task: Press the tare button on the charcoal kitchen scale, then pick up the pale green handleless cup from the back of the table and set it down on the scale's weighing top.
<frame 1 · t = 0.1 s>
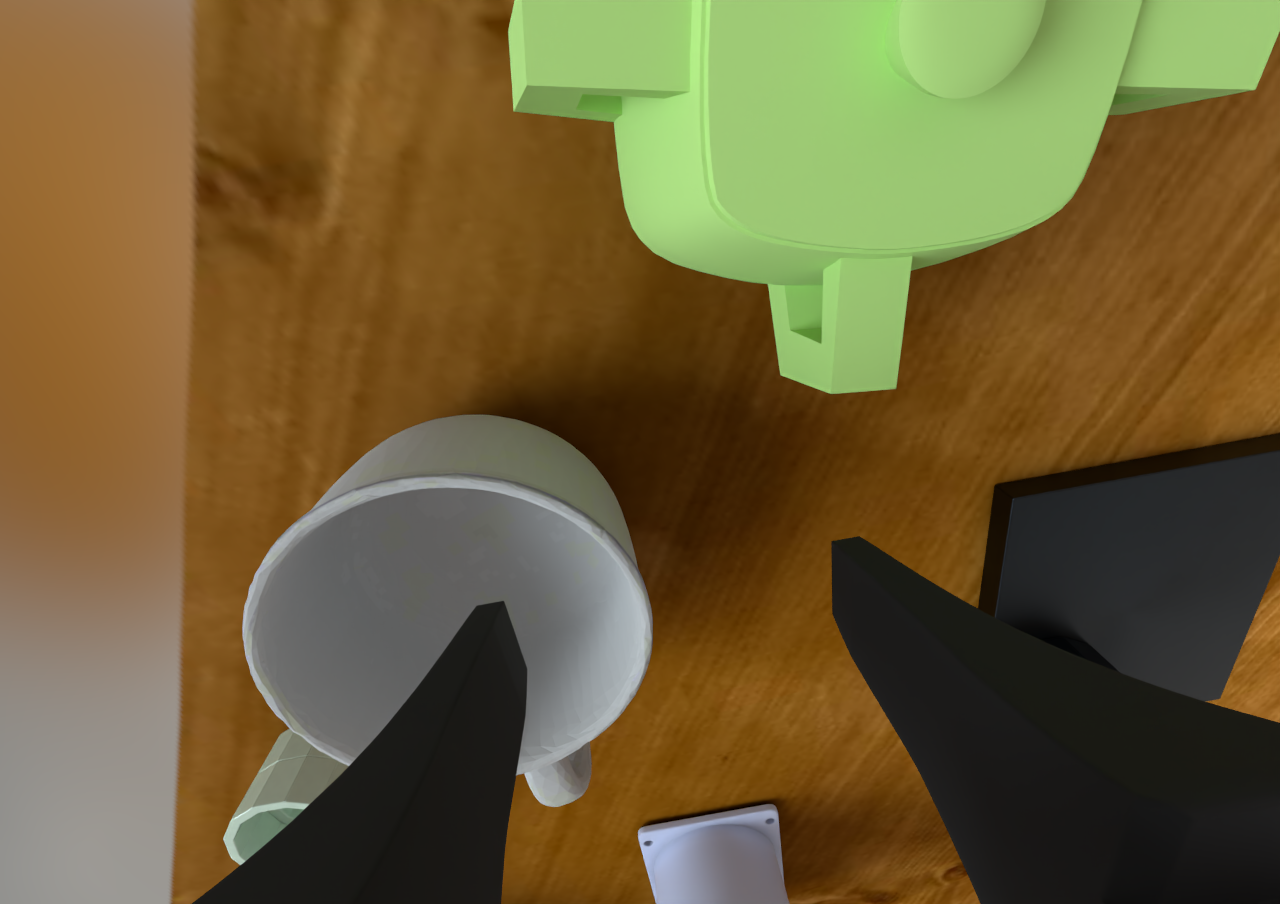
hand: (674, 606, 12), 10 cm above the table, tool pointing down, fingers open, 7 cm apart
pale green handleless cup: (342, 748, 27), on the table
teapot: (776, 95, 17), on the table
teacup: (510, 538, 23), on the table
scale: (1108, 594, 27), on the table
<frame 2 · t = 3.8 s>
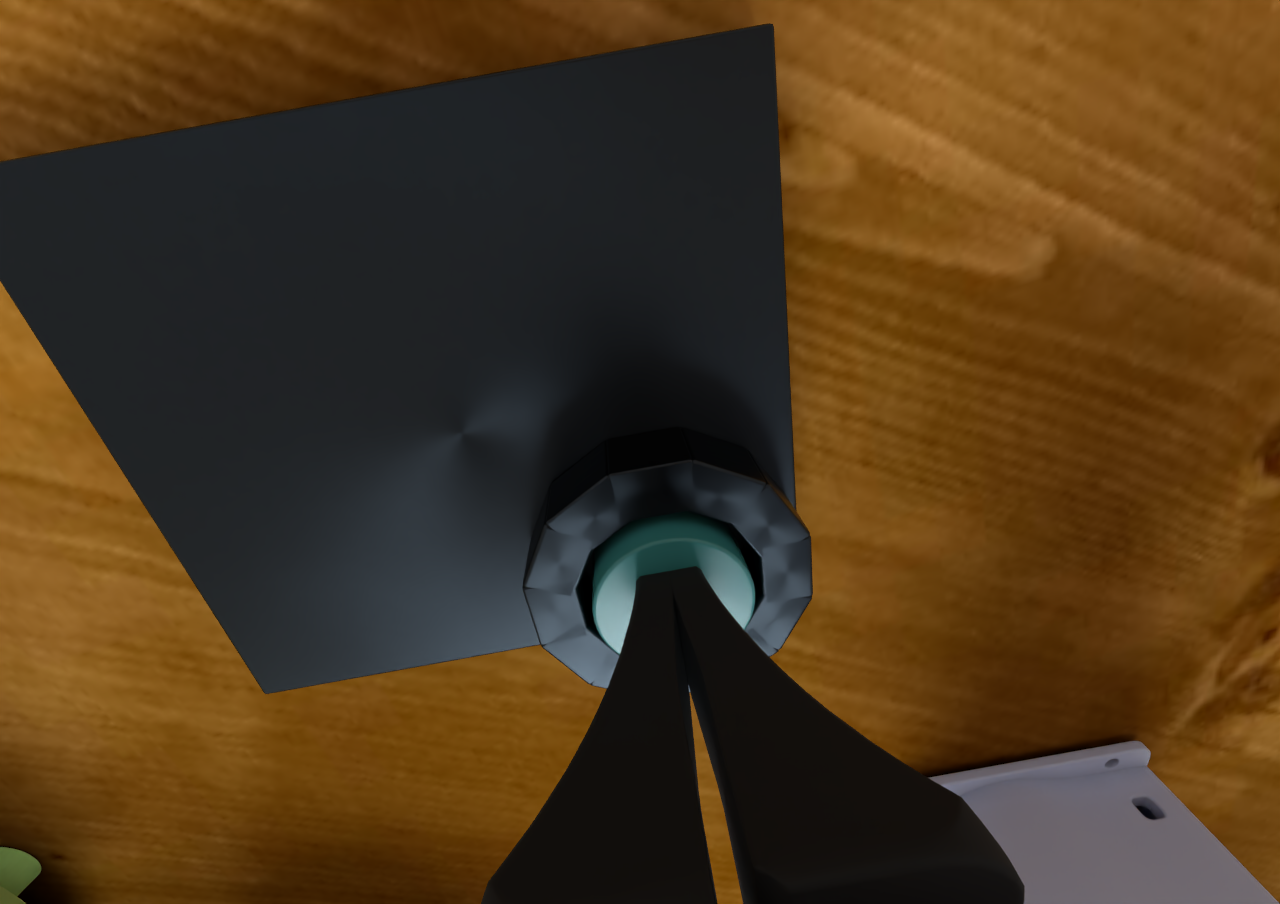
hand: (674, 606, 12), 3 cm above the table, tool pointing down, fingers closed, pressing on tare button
tare button: (670, 583, 13), point 3 cm above the table, slide at -0.7 cm, touching gripper
scale: (473, 414, 14), on the table
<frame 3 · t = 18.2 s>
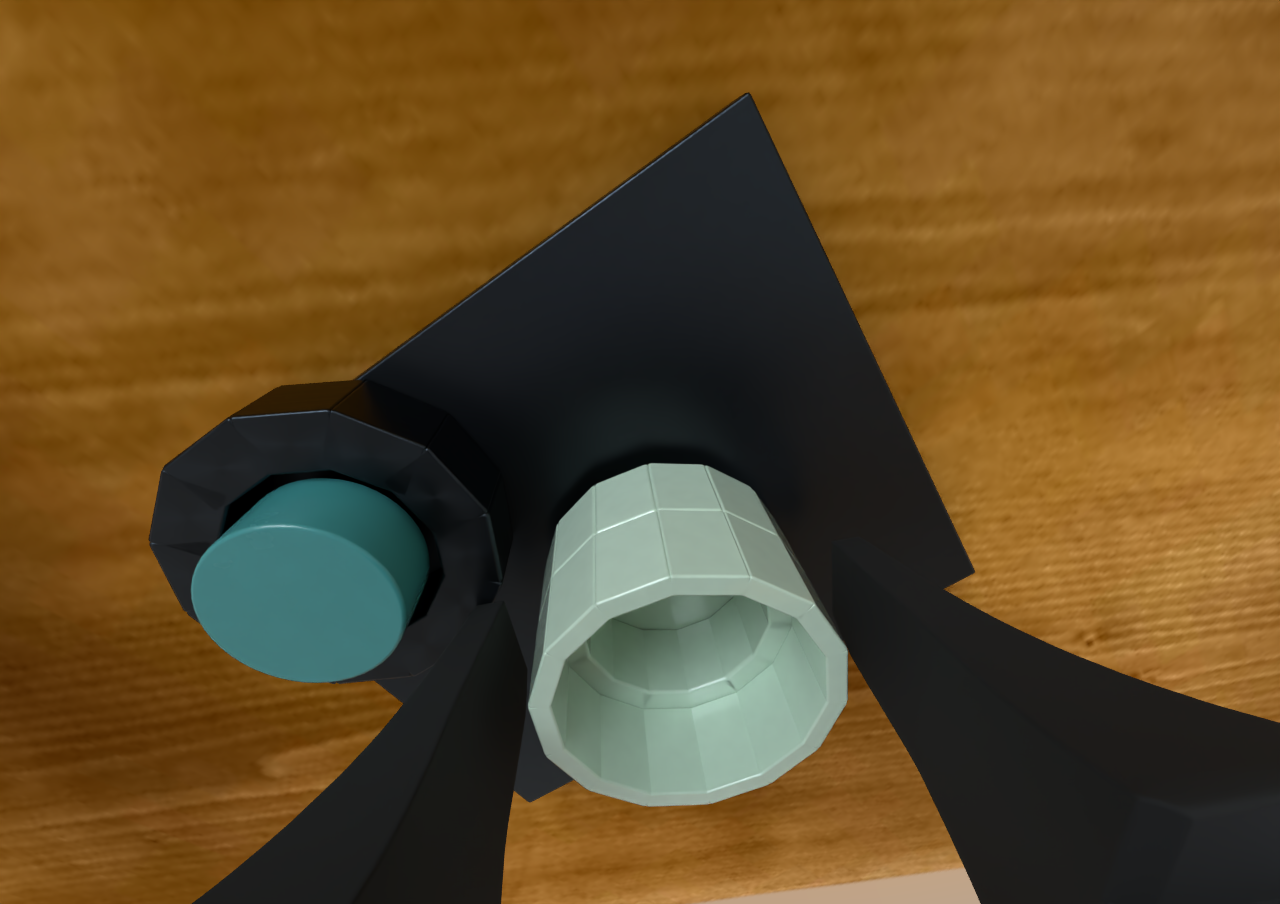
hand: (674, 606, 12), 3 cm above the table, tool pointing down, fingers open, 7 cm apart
pale green handleless cup: (663, 554, 14), point 1 cm above the table, touching scale
tare button: (321, 580, 11), point 3 cm above the table, slide at 0.1 cm
scale: (607, 521, 15), on the table
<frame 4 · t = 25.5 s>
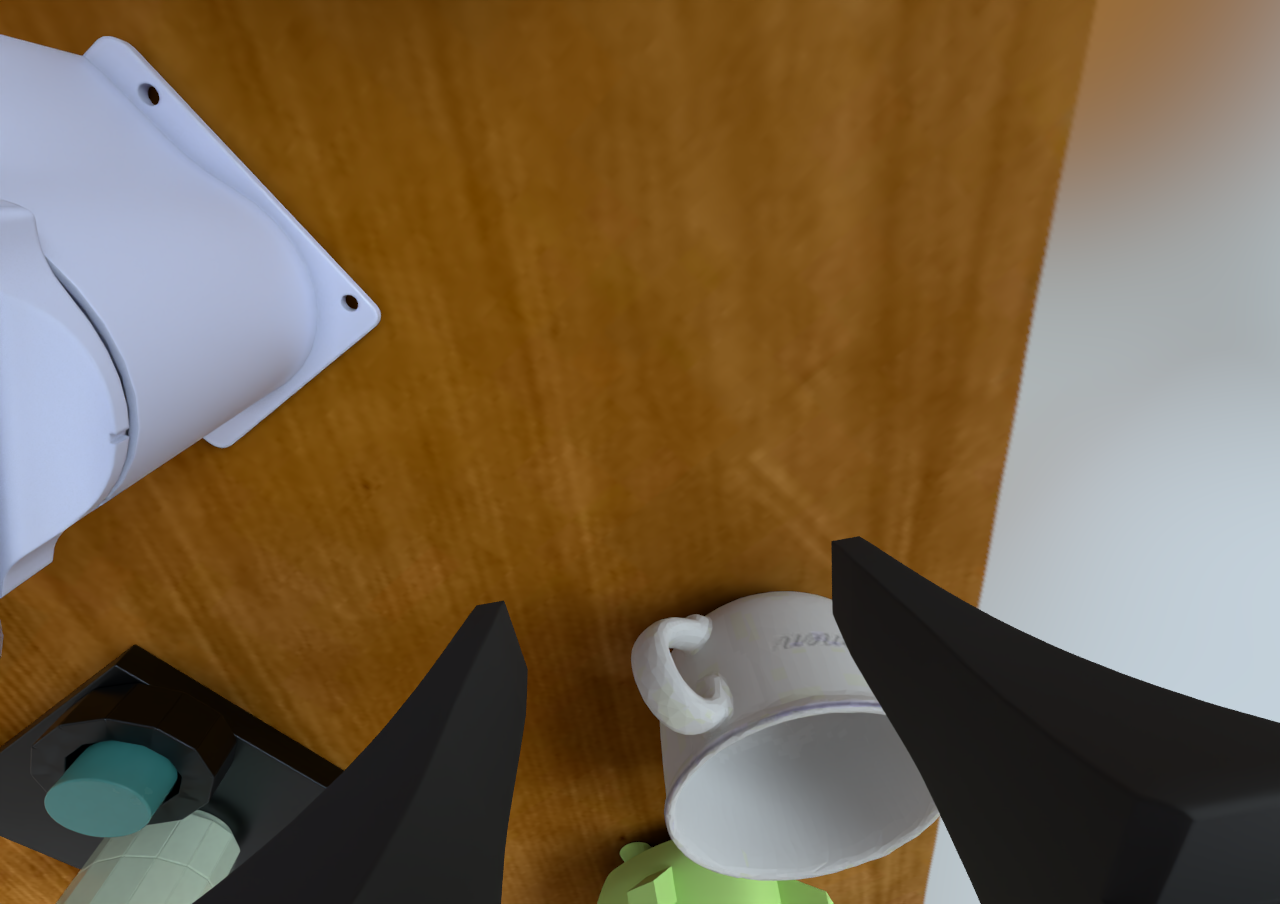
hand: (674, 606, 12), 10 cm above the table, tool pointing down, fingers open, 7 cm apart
pale green handleless cup: (182, 835, 27), point 1 cm above the table, touching scale
teapot: (688, 854, 34), on the table
teacup: (736, 625, 27), on the table
tare button: (114, 788, 22), point 3 cm above the table, slide at 0.1 cm
scale: (192, 793, 28), on the table
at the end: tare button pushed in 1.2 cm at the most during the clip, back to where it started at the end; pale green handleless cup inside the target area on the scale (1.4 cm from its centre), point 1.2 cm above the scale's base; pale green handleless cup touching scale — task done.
